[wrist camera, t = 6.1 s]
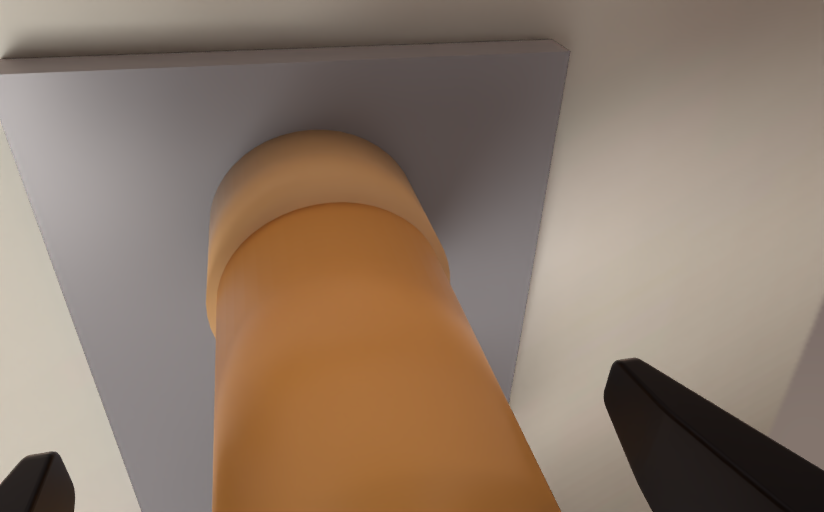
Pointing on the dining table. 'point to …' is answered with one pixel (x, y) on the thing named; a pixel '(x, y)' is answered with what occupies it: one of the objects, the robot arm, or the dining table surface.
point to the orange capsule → (357, 378)
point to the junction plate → (179, 140)
